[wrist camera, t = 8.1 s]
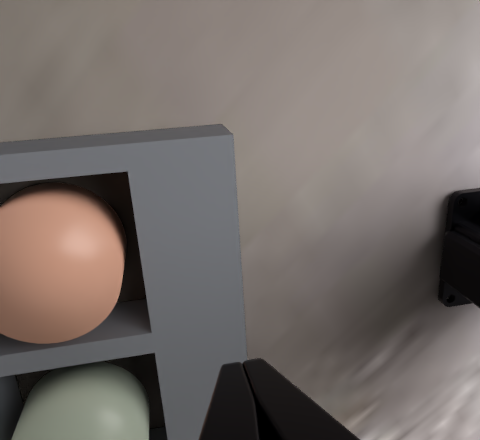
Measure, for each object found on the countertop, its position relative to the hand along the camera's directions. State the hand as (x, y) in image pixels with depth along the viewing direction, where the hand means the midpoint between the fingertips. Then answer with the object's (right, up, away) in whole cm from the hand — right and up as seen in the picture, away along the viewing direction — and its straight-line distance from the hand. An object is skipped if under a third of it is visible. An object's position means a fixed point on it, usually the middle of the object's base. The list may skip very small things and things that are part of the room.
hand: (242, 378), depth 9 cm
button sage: (-7, -6, +12) cm, 15 cm away
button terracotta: (-8, +2, +10) cm, 13 cm away
